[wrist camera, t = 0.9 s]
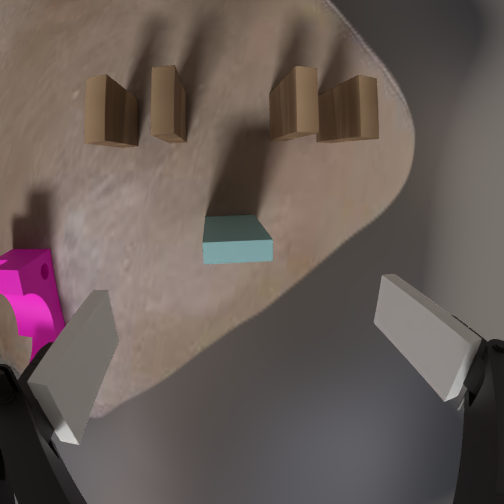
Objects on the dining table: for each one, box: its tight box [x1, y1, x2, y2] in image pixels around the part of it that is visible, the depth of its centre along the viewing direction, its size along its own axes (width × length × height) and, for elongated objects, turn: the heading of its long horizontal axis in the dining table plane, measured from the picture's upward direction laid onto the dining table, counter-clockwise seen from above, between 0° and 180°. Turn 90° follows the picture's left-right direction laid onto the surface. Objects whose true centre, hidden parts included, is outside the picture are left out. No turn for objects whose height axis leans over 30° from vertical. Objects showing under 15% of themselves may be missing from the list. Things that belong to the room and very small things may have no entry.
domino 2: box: [151, 65, 186, 143], centre depth 22 cm, size 2×5×10 cm, turn 1°
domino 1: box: [85, 74, 138, 148], centre depth 22 cm, size 2×5×10 cm, turn 1°
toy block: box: [0, 249, 65, 365], centre depth 27 cm, size 15×6×8 cm, turn 178°
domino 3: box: [203, 215, 273, 264], centre depth 26 cm, size 2×5×10 cm, turn 91°
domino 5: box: [317, 75, 379, 143], centre depth 24 cm, size 2×5×10 cm, turn 1°
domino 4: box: [269, 66, 319, 141], centre depth 24 cm, size 2×5×10 cm, turn 1°
